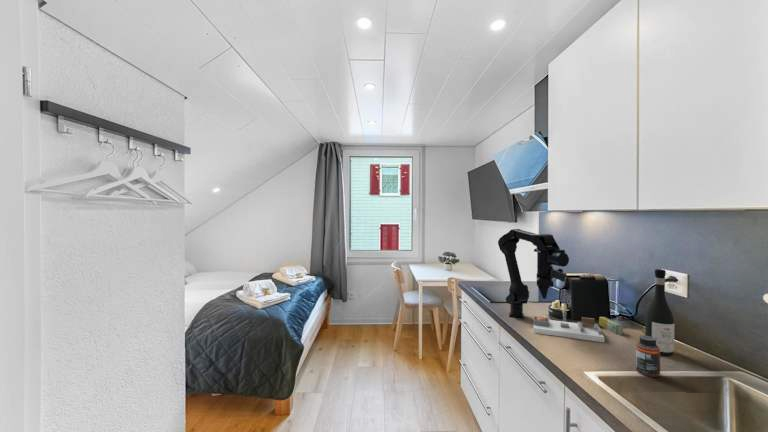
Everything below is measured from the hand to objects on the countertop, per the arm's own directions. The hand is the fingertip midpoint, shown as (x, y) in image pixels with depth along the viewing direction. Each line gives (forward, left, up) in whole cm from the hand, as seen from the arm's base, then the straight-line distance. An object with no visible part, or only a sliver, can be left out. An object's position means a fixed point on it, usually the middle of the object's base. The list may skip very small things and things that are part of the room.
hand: (544, 298), depth 142 cm
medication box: (-10, +26, -14) cm, 31 cm away
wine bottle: (+9, +37, -13) cm, 41 cm away
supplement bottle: (+30, +28, -13) cm, 44 cm away
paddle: (-3, +17, -11) cm, 20 cm away
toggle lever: (0, +8, -9) cm, 12 cm away
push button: (0, -1, -11) cm, 11 cm away
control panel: (0, +8, -13) cm, 16 cm away
